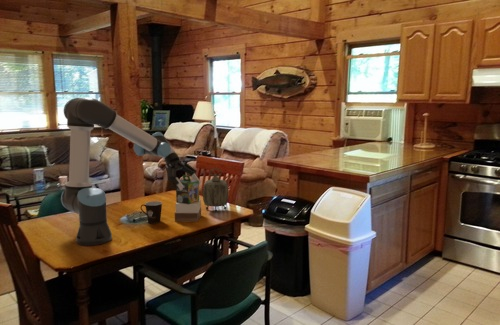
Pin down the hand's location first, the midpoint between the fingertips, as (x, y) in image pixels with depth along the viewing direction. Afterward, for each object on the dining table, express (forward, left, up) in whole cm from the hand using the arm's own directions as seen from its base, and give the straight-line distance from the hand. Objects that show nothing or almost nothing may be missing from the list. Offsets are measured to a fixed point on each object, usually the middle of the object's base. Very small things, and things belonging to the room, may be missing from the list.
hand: (191, 186), depth 207 cm
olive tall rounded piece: (+16, -11, -18) cm, 27 cm away
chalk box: (+1, +2, -9) cm, 9 cm away
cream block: (+2, +2, -14) cm, 14 cm away
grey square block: (+1, +2, -19) cm, 19 cm away
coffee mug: (-5, +20, -18) cm, 28 cm away
